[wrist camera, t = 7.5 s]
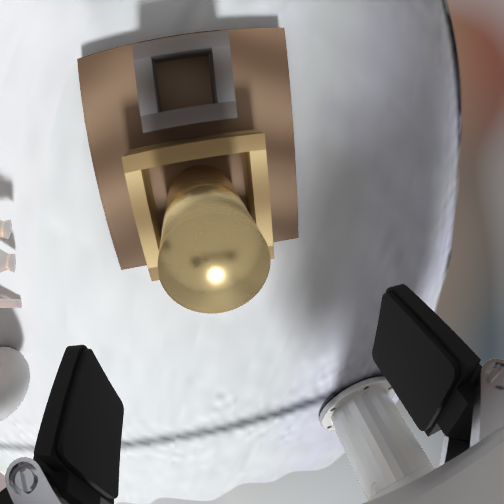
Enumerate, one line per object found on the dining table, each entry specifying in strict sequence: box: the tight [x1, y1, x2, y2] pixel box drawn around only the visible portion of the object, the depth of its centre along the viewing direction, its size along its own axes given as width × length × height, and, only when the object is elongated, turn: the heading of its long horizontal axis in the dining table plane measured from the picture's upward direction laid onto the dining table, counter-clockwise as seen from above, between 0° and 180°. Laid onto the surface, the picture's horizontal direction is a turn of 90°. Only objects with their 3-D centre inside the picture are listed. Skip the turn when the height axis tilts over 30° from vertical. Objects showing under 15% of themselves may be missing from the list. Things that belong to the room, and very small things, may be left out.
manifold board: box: [77, 28, 298, 281], centre depth 19 cm, size 16×14×4 cm
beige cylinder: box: [157, 165, 270, 313], centre depth 17 cm, size 5×5×10 cm
